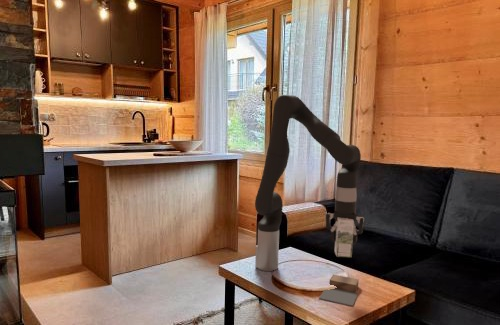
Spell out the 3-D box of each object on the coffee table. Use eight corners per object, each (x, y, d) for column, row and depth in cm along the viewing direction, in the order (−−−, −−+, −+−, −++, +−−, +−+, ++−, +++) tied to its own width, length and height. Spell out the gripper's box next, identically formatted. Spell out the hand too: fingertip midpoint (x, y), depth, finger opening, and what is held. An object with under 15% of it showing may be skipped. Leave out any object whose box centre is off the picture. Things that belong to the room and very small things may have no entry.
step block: (329, 287, 143) (329, 279, 143) (332, 281, 149) (333, 274, 149) (355, 292, 139) (356, 285, 139) (358, 286, 145) (358, 279, 144)
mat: (319, 299, 134) (319, 297, 134) (326, 287, 143) (326, 286, 143) (352, 306, 128) (352, 305, 128) (358, 293, 138) (358, 292, 138)
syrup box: (349, 252, 141) (351, 215, 140) (352, 258, 135) (354, 219, 134) (334, 251, 142) (336, 214, 140) (336, 257, 136) (338, 218, 134)
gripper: (324, 198, 136) (322, 242, 138) (364, 202, 130) (361, 248, 132) (328, 195, 143) (327, 237, 145) (367, 199, 137) (364, 242, 138)
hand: (343, 242), depth 138 cm, fingers closed on syrup box, 7 cm apart
